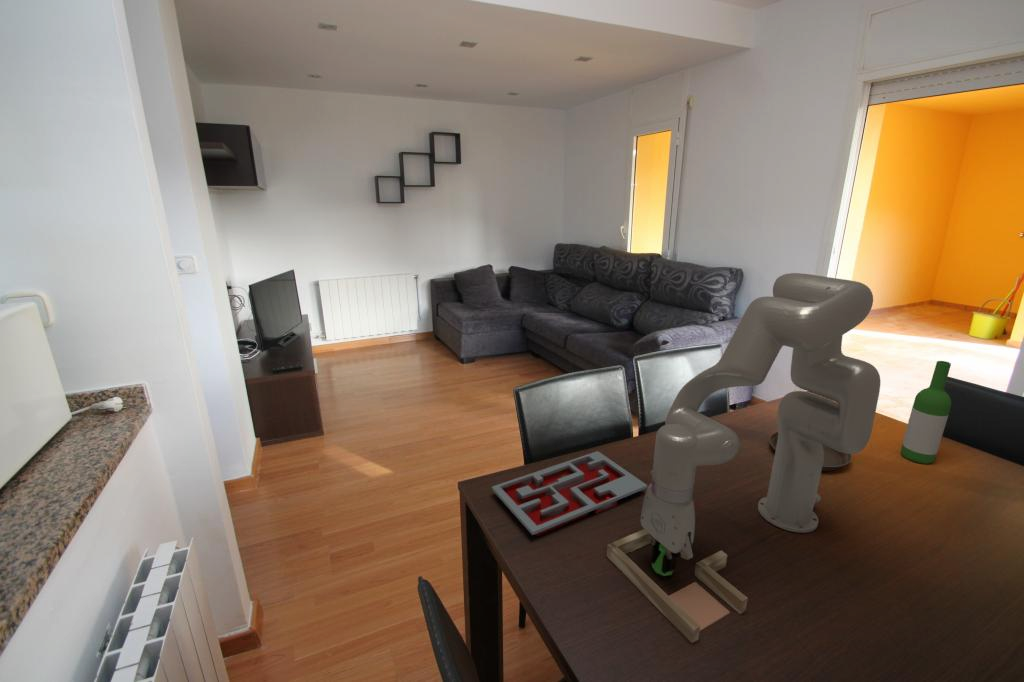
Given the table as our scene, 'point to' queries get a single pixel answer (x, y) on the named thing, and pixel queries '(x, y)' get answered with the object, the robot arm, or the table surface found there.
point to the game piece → (660, 562)
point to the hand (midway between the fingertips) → (663, 564)
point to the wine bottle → (928, 418)
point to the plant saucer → (831, 456)
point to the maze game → (567, 492)
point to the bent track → (690, 603)
